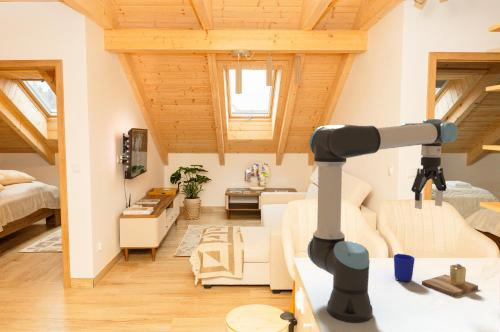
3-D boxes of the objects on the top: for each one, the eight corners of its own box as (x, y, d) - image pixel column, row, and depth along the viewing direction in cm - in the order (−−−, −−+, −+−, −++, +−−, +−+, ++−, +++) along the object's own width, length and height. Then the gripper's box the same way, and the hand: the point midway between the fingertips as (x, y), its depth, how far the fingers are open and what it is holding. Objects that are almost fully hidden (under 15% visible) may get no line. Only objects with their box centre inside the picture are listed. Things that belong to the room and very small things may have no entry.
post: (458, 285, 153) (459, 266, 152) (452, 283, 155) (453, 264, 154) (462, 284, 154) (463, 265, 153) (456, 282, 156) (457, 263, 156)
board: (454, 296, 145) (454, 293, 145) (421, 284, 157) (422, 281, 157) (477, 289, 153) (478, 285, 153) (445, 277, 165) (445, 274, 165)
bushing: (459, 287, 151) (460, 270, 151) (447, 282, 156) (448, 266, 155) (467, 284, 154) (468, 268, 153) (454, 280, 158) (455, 264, 158)
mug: (407, 273, 170) (408, 251, 169) (416, 283, 158) (417, 260, 157) (388, 272, 171) (389, 251, 170) (395, 282, 159) (396, 259, 158)
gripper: (419, 157, 148) (417, 211, 150) (457, 156, 161) (454, 206, 162) (403, 156, 155) (401, 208, 156) (440, 155, 167) (438, 203, 169)
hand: (428, 207), depth 159 cm, fingers open, 13 cm apart
